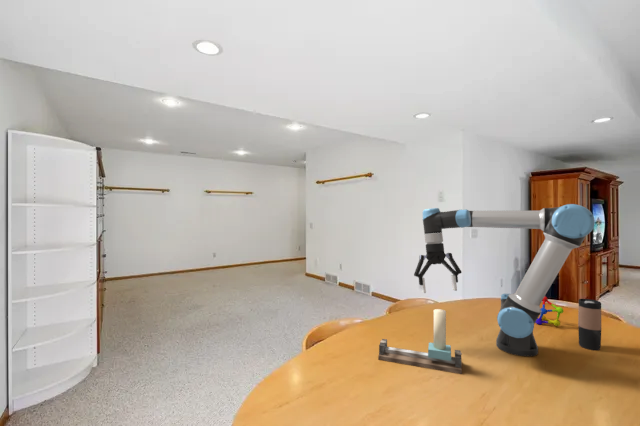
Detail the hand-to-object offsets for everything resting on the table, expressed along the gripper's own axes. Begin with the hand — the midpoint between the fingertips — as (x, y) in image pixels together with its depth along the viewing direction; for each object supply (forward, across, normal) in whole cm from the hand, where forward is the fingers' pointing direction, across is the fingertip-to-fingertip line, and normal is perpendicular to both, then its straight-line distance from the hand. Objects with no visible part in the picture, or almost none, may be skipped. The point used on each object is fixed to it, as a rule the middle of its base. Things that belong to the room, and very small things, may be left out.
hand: (439, 291), depth 138 cm
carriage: (+21, +8, +16) cm, 28 cm away
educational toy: (+26, -63, -29) cm, 74 cm away
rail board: (+24, +15, +13) cm, 31 cm away
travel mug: (+29, -63, -1) cm, 69 cm away
